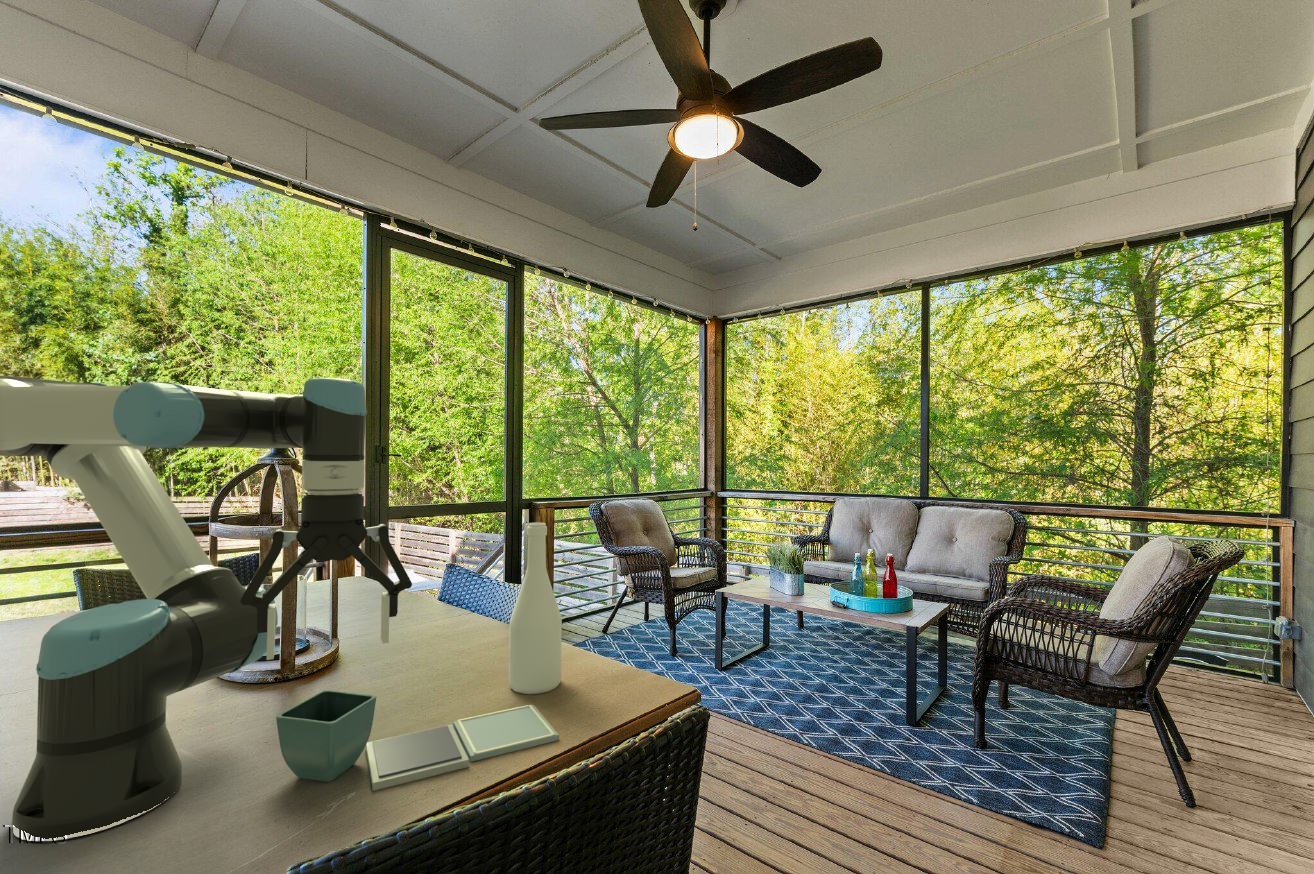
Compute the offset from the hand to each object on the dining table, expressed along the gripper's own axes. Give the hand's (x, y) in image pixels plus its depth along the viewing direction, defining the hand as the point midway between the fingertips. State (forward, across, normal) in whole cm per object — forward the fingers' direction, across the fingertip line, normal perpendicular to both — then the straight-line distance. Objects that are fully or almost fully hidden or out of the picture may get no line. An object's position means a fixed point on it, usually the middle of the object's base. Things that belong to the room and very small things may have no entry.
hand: (330, 648), depth 81 cm
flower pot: (+17, 0, 0) cm, 17 cm away
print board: (+16, +24, -1) cm, 29 cm away
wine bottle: (+17, +34, +14) cm, 41 cm away
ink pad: (+16, +11, -2) cm, 20 cm away
